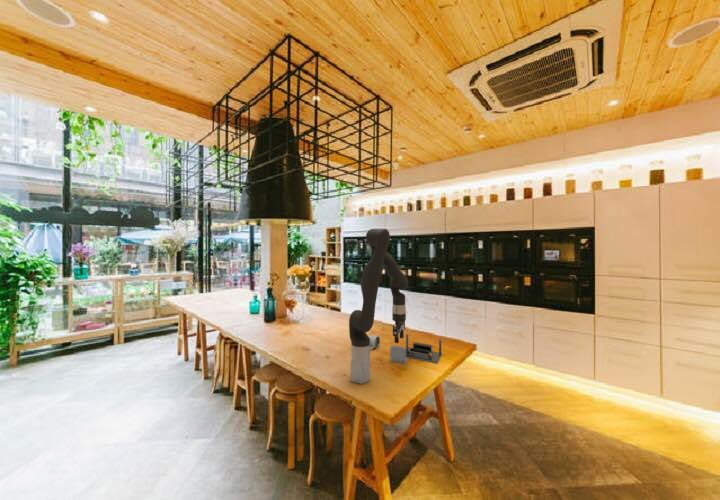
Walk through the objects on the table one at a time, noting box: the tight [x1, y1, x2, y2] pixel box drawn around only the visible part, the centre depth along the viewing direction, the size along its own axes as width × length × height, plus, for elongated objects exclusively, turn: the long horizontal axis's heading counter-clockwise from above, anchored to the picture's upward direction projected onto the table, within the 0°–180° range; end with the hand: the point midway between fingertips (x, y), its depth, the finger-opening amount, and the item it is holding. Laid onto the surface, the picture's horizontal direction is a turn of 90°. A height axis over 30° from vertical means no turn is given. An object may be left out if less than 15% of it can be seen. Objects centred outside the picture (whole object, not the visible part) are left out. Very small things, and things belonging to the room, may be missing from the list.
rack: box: [405, 334, 443, 364], centre depth 160 cm, size 14×22×9 cm, turn 63°
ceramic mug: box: [367, 334, 381, 351], centre depth 171 cm, size 11×8×8 cm
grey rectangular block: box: [389, 344, 408, 365], centre depth 151 cm, size 3×9×8 cm, turn 63°
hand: (399, 340), depth 151 cm, fingers open, 8 cm apart
